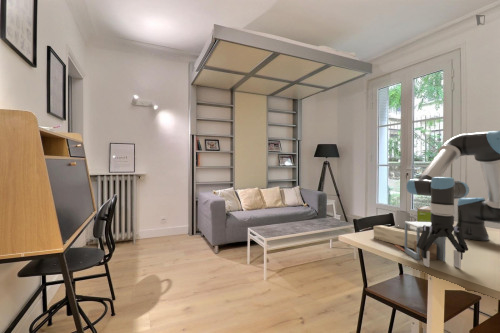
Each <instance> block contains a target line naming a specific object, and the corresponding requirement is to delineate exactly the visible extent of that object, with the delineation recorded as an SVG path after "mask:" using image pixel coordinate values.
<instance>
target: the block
mask: <svg viewBox="0 0 500 333" xmlns="http://www.w3.org/2000/svg"><path fill="white" fill-rule="evenodd" d="M416 245H417V240H414V252H415V253H417V247H416ZM428 251H429V252H430V260H431V261H432V260H434V261H435V260H436V261H437V258H436V257H437V244H435V243H433V244H432V245H431V246H430V248H429V249H428ZM421 252H422V250H421V249H420V259H421V260H423V257H422V256H421V255H422V253H421Z"/></svg>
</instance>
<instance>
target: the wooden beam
mask: <svg viewBox="0 0 500 333" xmlns="http://www.w3.org/2000/svg"><path fill="white" fill-rule="evenodd" d="M421 233H422V232H420V236H421ZM375 238H376V240H378V239H379V241H383V242H387V243H389V244H390V243H391V244H394V245H395V244H397V245H401V246H405V229H403V228H398V227H390V226H386V225H373V239H375ZM414 240H417V231H412V230H411V231H410V230H407V247H409V248H412V249H414Z"/></svg>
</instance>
